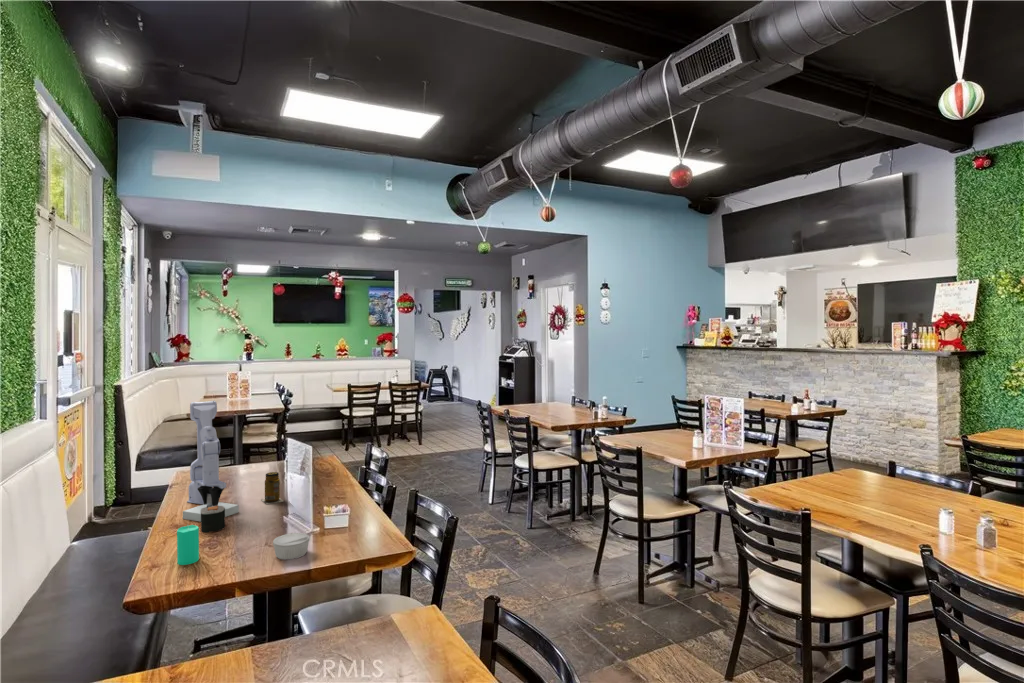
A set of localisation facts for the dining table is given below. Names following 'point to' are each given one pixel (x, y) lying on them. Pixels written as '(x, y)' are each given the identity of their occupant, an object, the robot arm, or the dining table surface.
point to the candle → (187, 545)
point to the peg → (209, 500)
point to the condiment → (272, 488)
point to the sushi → (212, 519)
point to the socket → (195, 512)
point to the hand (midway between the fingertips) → (211, 504)
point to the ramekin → (291, 545)
